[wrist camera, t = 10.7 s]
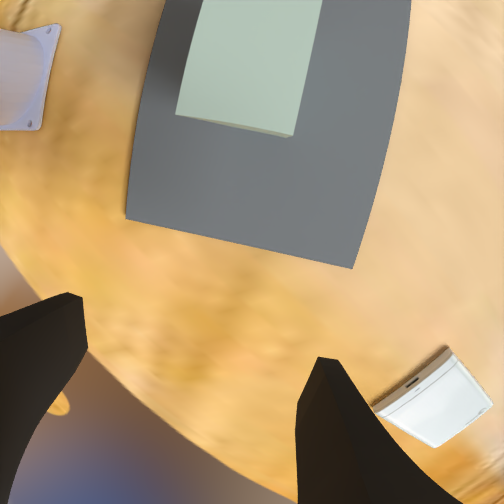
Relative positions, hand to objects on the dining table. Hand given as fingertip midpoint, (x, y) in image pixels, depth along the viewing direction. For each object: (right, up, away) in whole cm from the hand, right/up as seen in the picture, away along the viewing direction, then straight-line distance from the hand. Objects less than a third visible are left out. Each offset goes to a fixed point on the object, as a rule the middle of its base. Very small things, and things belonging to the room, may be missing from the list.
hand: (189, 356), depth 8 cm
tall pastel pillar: (+3, +12, +6) cm, 14 cm away
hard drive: (+19, -11, +14) cm, 26 cm away
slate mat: (+3, +12, +6) cm, 14 cm away
